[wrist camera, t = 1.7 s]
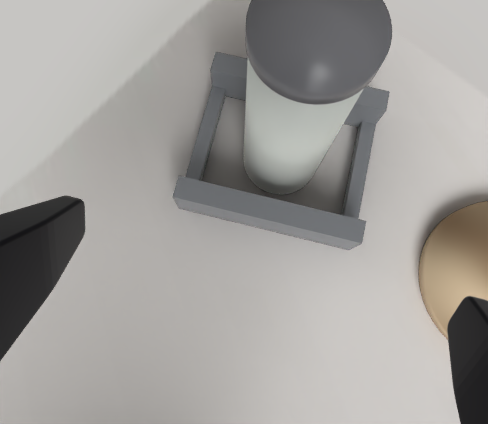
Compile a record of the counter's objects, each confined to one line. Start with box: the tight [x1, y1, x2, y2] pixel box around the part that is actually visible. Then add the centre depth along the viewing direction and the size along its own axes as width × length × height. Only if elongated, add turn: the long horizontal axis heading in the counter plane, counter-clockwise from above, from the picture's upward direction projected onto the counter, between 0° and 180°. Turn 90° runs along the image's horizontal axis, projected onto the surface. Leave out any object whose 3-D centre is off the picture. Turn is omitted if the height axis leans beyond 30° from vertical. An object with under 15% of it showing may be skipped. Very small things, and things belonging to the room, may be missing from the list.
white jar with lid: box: [243, 0, 392, 194], centre depth 18 cm, size 5×5×12 cm
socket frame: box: [173, 52, 389, 250], centre depth 23 cm, size 9×10×2 cm
